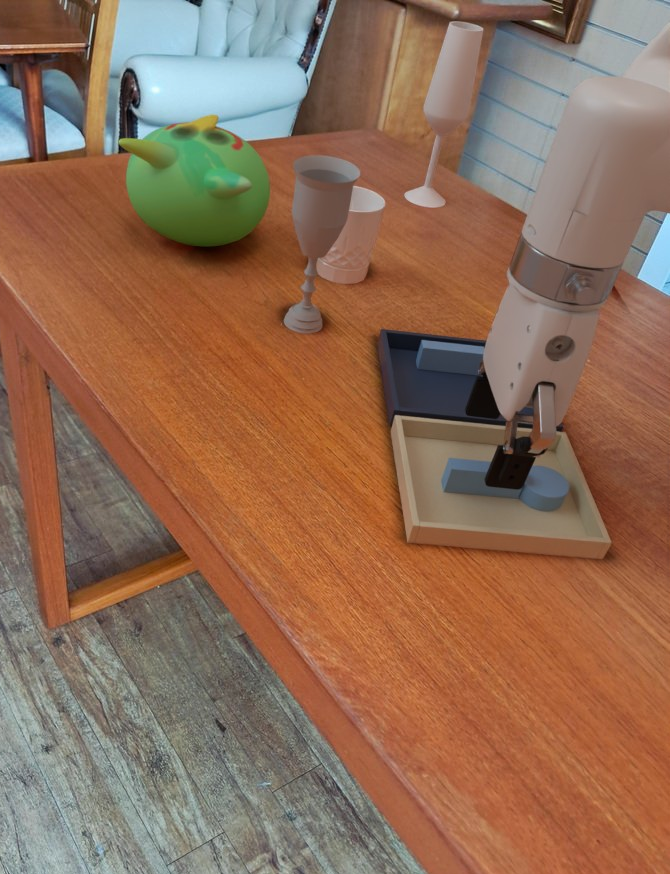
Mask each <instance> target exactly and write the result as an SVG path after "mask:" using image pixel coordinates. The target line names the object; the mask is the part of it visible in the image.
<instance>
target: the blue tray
mask: <svg viewBox="0 0 670 874" xmlns="http://www.w3.org/2000/svg"><path fill="white" fill-rule="evenodd" d="M421 340H427V341H436V342H446V343H455V344H464V345H473V346H482V347H484V349H485V344H486V341H487V339H486V340H485V339H477V338H467V337H460V336H459V337H458V336H449V335H441V334H431V333H423V332H414V331H412V332H411V331H405V330H396V329H386V328H380V330H379V334H378V339H377V343H376V346H377V347H376V348H377V353H378V357H379V358H378V360H379V365H380V372H381V378H382V385H383V392H384V397H385V405H386V412H387V417H388V424H389V425H388V426H389V427H390V428H392V424H393V421H394V417H395V415H399V416H409V417H419V418H429V419H439V420H449V421H459V422H469V423H479V424H489V425H499V426H506V419H505V418H504V417H503V416H502V414H500V416H499V417H498V418H497V419H490V418H481V417H473V416H468V415H466V412H465V408H466V405H467V402H468V399H469V396H470V393H471V391H472V388H473V385H474V382H475V379H476V377H477V375H467V374H458V373H449V372H439V371H430V370H420V369H417V365H416V358H417V355H418V351H419V347H420V344H421ZM479 376H480V375H479ZM480 377H481V376H480ZM517 414H526V415H533V408H528V407H524V408H523V409H522V410H521V411H520V412H518V411H517ZM562 422H563V421H562ZM562 422H561V423H560V424H559V425H558V426H556V431H558V432H563V430H564V424H563V423H562ZM517 427H518V428H528V429H532V427H533V424H526V423H518V425H517Z"/></svg>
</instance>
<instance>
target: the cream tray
mask: <svg viewBox="0 0 670 874" xmlns="http://www.w3.org/2000/svg"><path fill="white" fill-rule="evenodd" d="M505 427H506V426H499V425H489V424H479V423H469V422H459V421H449V420H439V419H429V418H419V417H409V416H399V415H395V417H394V421H393V424H392V427H390V428H391V429H390V439H391V443H392V450H393V456H394V457H393V458H394V463H395V471H396V476H397V483H398V489H399V495H400V502H401V511H402V515H403V522H404V529H405V534H406V535H405V537H406V541H407V543H409V544H418V545H419V544H420V545H421V544H422V545H430V546H431V545H432V546H444V547H455V548H466V549H476V550H477V549H478V550H488V551H489V550H490V551H500V552H511V553H512V552H513V553H522V554H523V553H525V554H535V555H547V556H559V557H572V558H583V559H594V560H603V559H604V558H605V556H606V554H607V553H608V550H609V549H610V547H611V545H612V543H613V542H612V539H611V537H610V534H609V533H608V530H607V528H606V525H605V523H604V520H603V518H602V516H601V514H600V511H599V508H598V507H597V504H596V502H595V499H594V496H593V493H592V492H591V489H590V487H589V484H588V482H587V480H586V478H585V475H584V472H583V470H582V468H581V465H580V463H579V461H578V458H577V456H576V453H575V451H574V448H573V446H572V444H571V442H570V439H569V436H568V434H567V432H566V431H562V432H558V431H556V432H557V434H556V439H555V441H554V442H553V443H552V444H551V445H550V446H549V447H548V448H547V450H546V451H545V453H544V454H542V455H540V457H538V458H537V457H536V459H535V461H534V463H533V466H544V467H548V468H551V469H553V470H555V471H557V472H559V473H560V474H561V475H563V476H564V477H565V479H566V480H567V482H568V484H569V491H568V493H567V495H566V497H565V500H564V502H563V504H562V505H561V507H560V508H558V509H557V510H554V511H540V510H536V509H533V508H531V507H529V506H527V505H526V504H525V503H523V502H522V501H521V500H520V499H519V497H518V499H514V498H503V497H492V496H482V495H471V494H460V493H449V492H444V491H443V486H442V482H441V480H442V477H443V474H444V471H445V468H446V465H447V462H448V459H449V458H457V459H467V460H478V461H488V462H492V459H493V457H494V454H495V452H496V449H497V447H498V445H503V444H504V436H505ZM531 431H532V429H528V428H518V427H517V434H516V439H517V438H520V437H524V436H525V437H528V436H529V435H530V432H531Z"/></svg>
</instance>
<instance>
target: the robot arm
mask: <svg viewBox="0 0 670 874" xmlns="http://www.w3.org/2000/svg"><path fill="white" fill-rule="evenodd" d="M567 98H568V99H567V101H566V104H565V106H564V107H563V111H562V114H561V117H560V120H559V123H558V126H557V128H556V131H555V134H554V136H553V139H552V142H551V145H550V148H549V150H548V154H547V156H546V159H545V162H544V165H543V169H542V171H541V174H540V176H539V179H538V183H537V186H536V188H535V191H534V195H533V197H532V199H531V203H530V206H529V208H528V212H527V214H526V217H525V220H524V223H523V226H522V229H521V231H520V233H519V237H518V240H517V243H516V244H515V245H516V246H515V248H514V251H513V254H512V257H511V260H510V262H509V265H508V268H507V271H506V279H507V280H508V282H509V283H508V285H507V287H506V289H505V291H504V294H503V296H502V299H501V301H500V303H499V306H498V309H497V311H496V313H495V315H494V317H493V320H492V323H491V327H490V329H489V333H488V335H487V339H486V340H487V341H486V344H485V349H484V353H483V360H482V361H481V362H480V364H479V368H478V374H479V375H483V377H480V376H477V377H476V379H475V382H474V385H473V388H472V391H471V393H470V396H469V399H468V402H467V405H466V408H465V412H466V415H468V416H473V417H481V418H490V419H497V418H498V417H499V416H500V414H502V416H503V417H504V418H505V419H506V427H505V436H504V444H503V445H498V447H497V449H496V452H495V454H494V457H493V459H492V462H491V464H490V466H489V469H488V471H487V474H486V476H485V479H484V480H485V484H486V486H488V487H497V488H507V489H516V490H519V489H521V488H522V487H523V485H524V483H525V481H526V479H527V477H528V474H529V472H530V470H531V468H532V466H533V463H534V461H535V459H536V457H537V458H538V457H540V455H542V454H544V453H545V451H546V450H547V448H548V447H549V446H550V445H551V444H552V443H553V442H554V441H555V439H556V434H557V432H556V426H558V425H559V424H560V423H561V422H563V421H564V418H565V416H566V414H567V412H568V409H569V407H570V405H571V403H572V401H573V398H574V394H575V392H576V390H577V388H578V384H579V383H580V380H581V377H582V376H583V372H584V370H585V366H586V364H587V361H588V359H589V355H590V352H591V349H592V346H593V342H594V339H595V335H596V332H597V328H598V323H599V319H600V315H601V313H600V309H601V308H602V307H604V306H605V304H606V303H607V301H608V299H609V296H610V294H611V292H612V289H613V287H614V285H615V283H616V281H617V278H618V277H619V276H618V275H619V274H620V272H621V270H622V268H623V265H624V263H625V261H626V258H627V256H628V254H629V252H630V250H631V248H632V245H633V243H634V240H635V239H636V236H637V234H638V232H639V229H640V227H641V225H642V224H643V221H644V219H645V216H646V215H647V214H648V213H650V212H653V211H655V212H660V213H664V214H670V20H669V21H668V22H667V23H666V24H665V26H664V27H663V28H662V29H661V30H660V31H659V32H658V33H657V34H656V35H655V36H654V37H653V38H652V39H651V40H650V41H649V43H647V45H646V46H645V47H644V48H643V49H642V50H641V51H640V52H639V53H638V54H637V55H636V57H634V59H633V60H632V61H631V63H630V64H629V65H628V66H627V67H626V69H625V70H624V71H623V73H622V74H621V75H620V76H616V75H615V76H614V75H597V76H591V77H588V78H586V79H584V80H582V81H580V82H579V83H578V84H577V85H576V86H575V87H574V89H573V90H572V91H571V93H570V94H569V96H568V97H567ZM524 407H528V408H533V415H526V414H517V411H518V412H520V411H521V410H522V409H523V408H524ZM518 423H526V424H533V427H532V431H531V432H530V435H529V436H528V437H525V436H524V437H520V438H517V439H516V434H517V425H518Z"/></svg>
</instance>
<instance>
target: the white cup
mask: <svg viewBox="0 0 670 874" xmlns="http://www.w3.org/2000/svg"><path fill="white" fill-rule="evenodd" d="M386 204H387V203H386V200H385V199H384V197H383V196H381V194H379V193H377V192H376V191H373V190H372V189H369V188H365V187H363V186H358V185H353V191H352V196H351V202H350V207H349V213H348V219H347V222H346V224H345V226H344V228H343V229H342V231H341V233H340V235H339V237H338V239H337V240H336V242H335V243H334V244H333V246H332V247H331V249H330V250H329V252H328V253H327V254H326V256H324V257H322V258H318V260H317V262H316V270H317V272H318V275H317V276H320V277H321V278H322V279H324V280H326V281H329V282H331V283H334V284H335V283H336V284H341V285H349V284H350V285H355V284H358V283H360V282H364V280H365V279H366V277H367V275H368V271H369V267H370V262H371V261H372V258H373V253H374V251H375V247H376V243H377V240H378V236H379V232H380V228H381V223H382V219H383V215H384V212H385V209H386Z"/></svg>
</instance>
